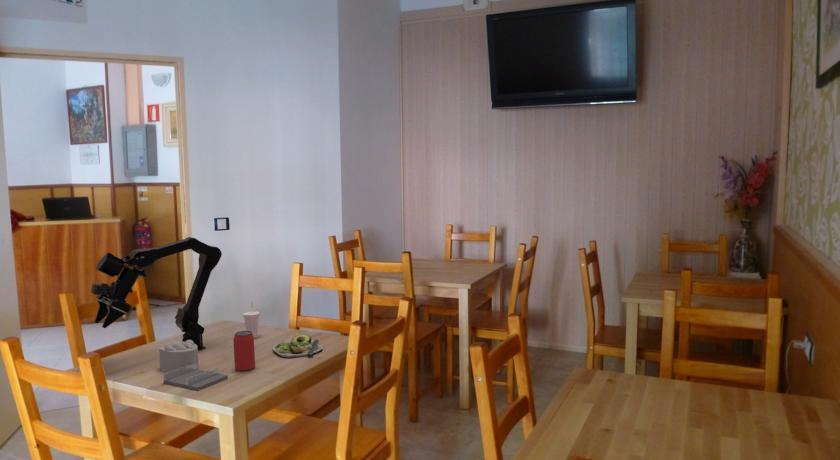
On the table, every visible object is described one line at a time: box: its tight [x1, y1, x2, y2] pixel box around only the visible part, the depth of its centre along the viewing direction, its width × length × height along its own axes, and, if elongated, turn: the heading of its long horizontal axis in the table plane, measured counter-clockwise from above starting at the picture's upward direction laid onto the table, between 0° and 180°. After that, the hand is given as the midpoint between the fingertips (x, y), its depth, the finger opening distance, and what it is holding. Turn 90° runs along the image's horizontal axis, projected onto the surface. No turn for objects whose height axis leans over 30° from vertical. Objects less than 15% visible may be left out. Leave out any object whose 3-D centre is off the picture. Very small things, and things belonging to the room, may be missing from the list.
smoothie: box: [242, 301, 261, 339], centre depth 242 cm, size 6×6×14 cm
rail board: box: [162, 363, 229, 392], centre depth 193 cm, size 12×15×3 cm
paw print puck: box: [158, 339, 200, 373], centre depth 206 cm, size 10×13×9 cm
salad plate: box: [272, 333, 323, 359], centre depth 223 cm, size 19×18×5 cm
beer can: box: [232, 330, 256, 372], centre depth 204 cm, size 7×7×12 cm
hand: (99, 325), depth 206 cm, fingers open, 9 cm apart
